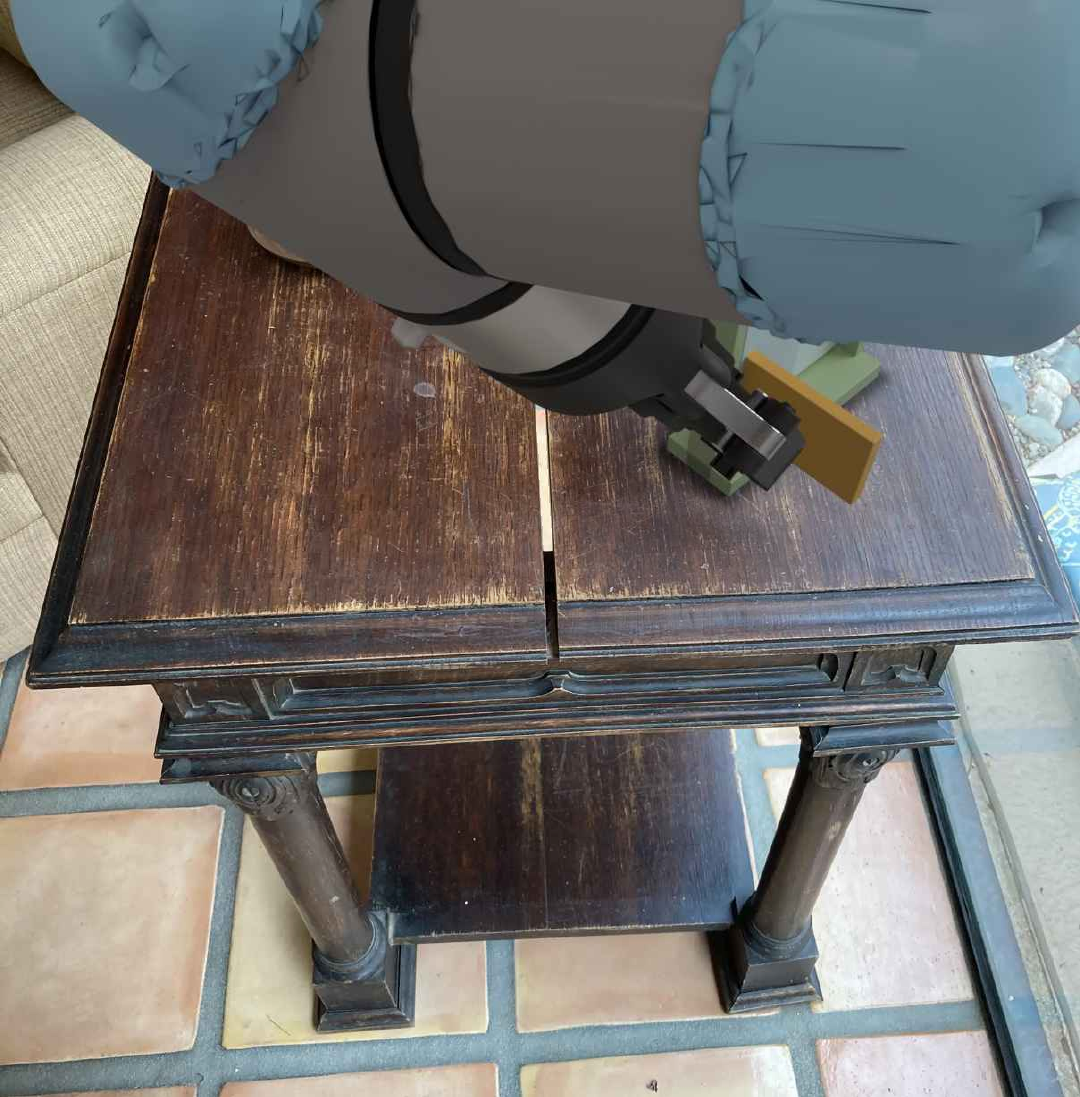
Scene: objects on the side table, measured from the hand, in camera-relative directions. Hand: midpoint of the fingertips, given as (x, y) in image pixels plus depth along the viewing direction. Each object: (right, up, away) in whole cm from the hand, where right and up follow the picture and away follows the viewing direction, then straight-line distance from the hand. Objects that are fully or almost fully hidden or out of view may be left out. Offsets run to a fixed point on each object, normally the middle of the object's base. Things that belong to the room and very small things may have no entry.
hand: (773, 461), depth 51 cm
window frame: (+6, +6, +27) cm, 28 cm away
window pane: (+7, +1, +22) cm, 23 cm away
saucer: (-29, +24, +40) cm, 55 cm away
